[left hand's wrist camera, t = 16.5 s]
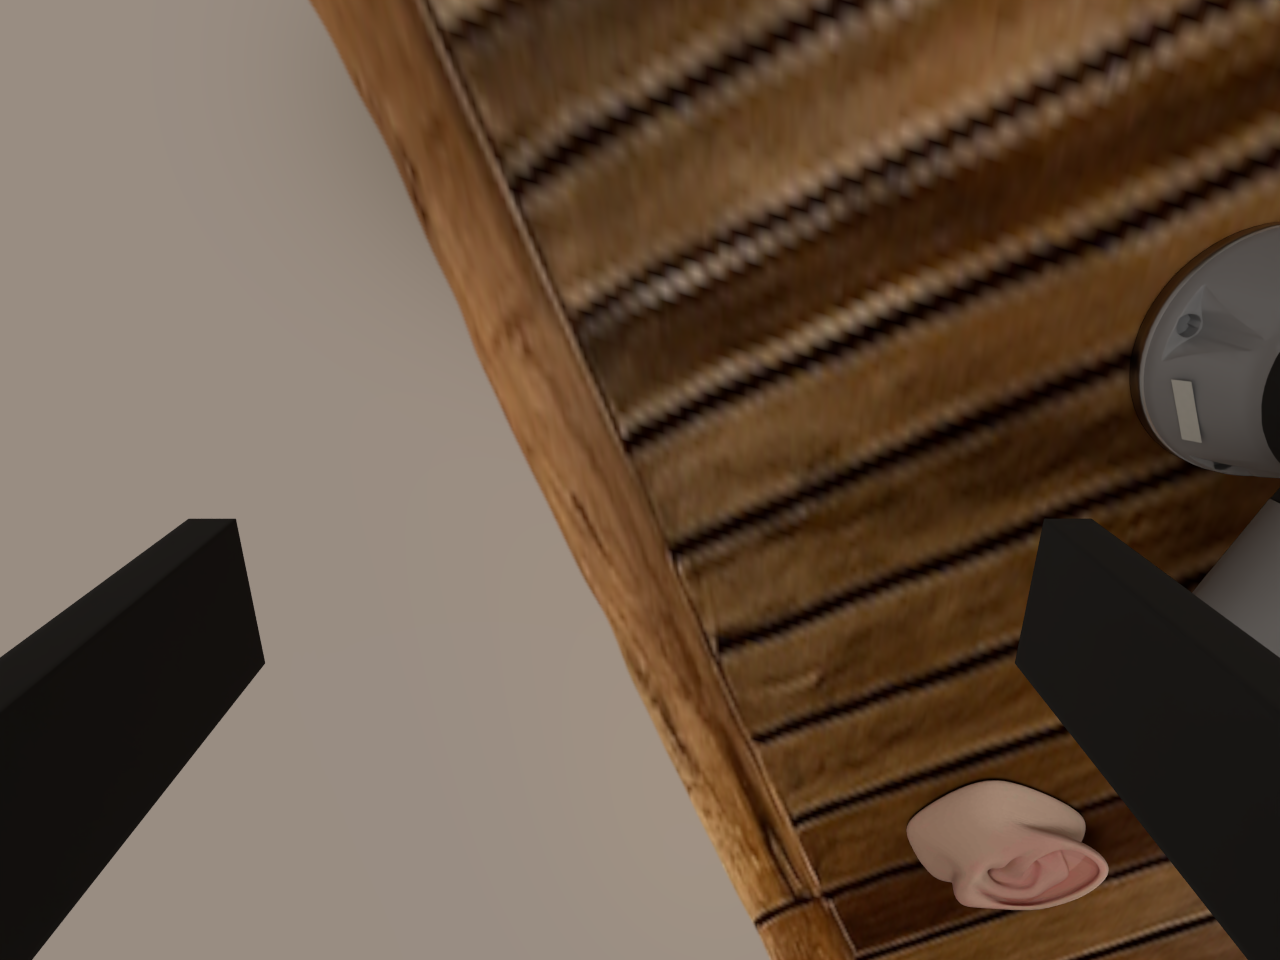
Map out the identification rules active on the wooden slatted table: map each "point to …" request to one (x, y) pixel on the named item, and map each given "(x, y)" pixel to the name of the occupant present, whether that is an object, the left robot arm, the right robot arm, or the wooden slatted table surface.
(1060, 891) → the anatomical model
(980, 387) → the wooden slatted table surface
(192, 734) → the left robot arm
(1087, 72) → the wooden slatted table surface
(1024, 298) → the wooden slatted table surface
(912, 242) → the wooden slatted table surface
